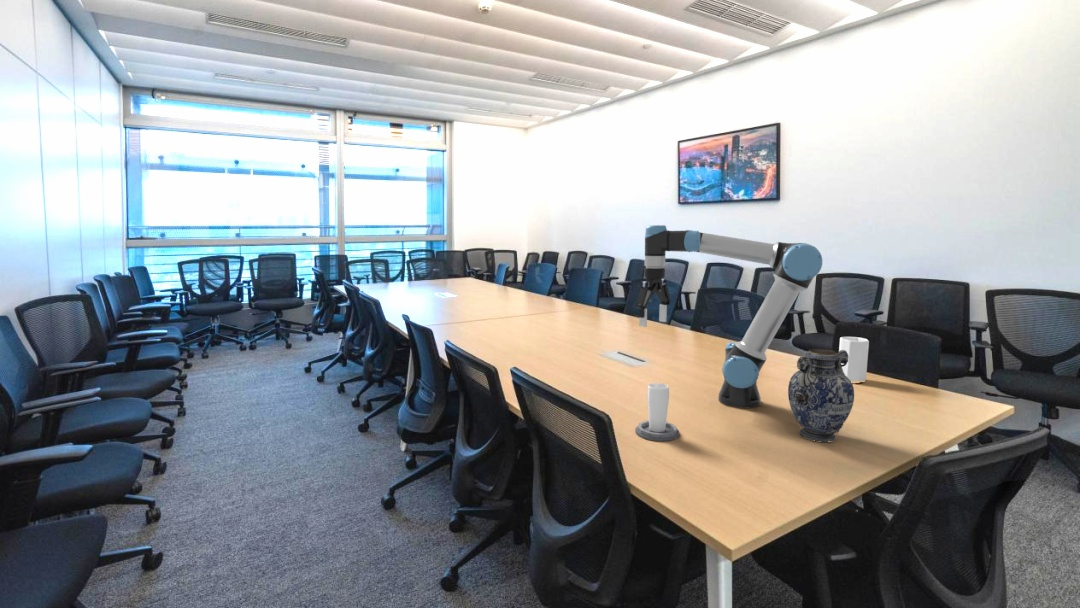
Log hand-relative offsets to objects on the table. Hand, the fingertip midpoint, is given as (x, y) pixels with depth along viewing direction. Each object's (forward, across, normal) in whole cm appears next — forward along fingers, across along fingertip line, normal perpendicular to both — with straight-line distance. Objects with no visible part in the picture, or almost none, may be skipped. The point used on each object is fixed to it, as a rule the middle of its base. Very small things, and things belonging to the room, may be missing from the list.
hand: (653, 324), depth 199 cm
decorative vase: (+31, -9, +57) cm, 65 cm away
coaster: (+31, +25, +18) cm, 43 cm away
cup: (+31, -87, +47) cm, 103 cm away
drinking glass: (+30, +24, +18) cm, 43 cm away
